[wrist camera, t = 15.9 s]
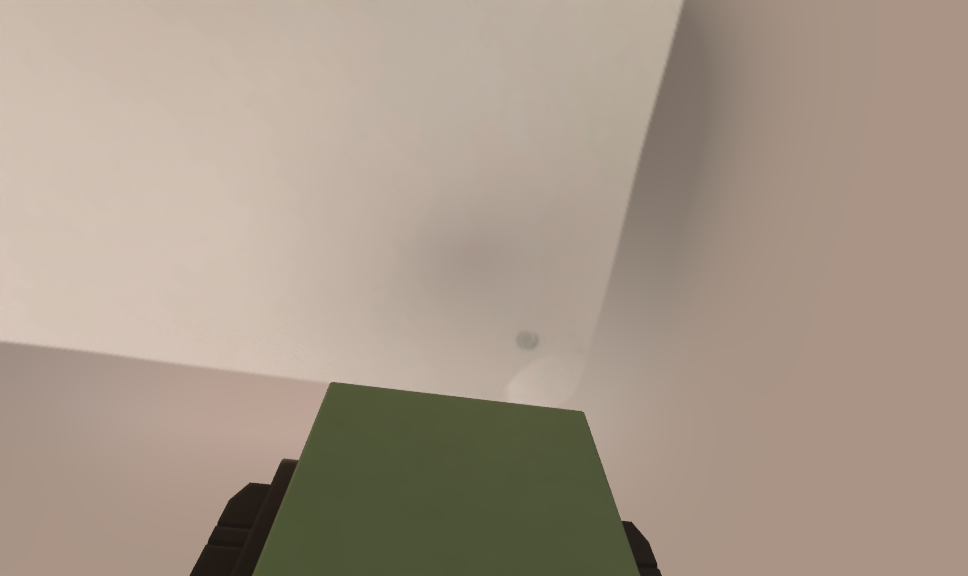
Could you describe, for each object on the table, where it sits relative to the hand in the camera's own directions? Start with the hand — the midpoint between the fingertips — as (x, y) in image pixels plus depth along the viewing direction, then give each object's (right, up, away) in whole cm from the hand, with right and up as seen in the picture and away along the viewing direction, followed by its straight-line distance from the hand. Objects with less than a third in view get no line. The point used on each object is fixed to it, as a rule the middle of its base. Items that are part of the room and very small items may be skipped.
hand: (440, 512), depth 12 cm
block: (0, 0, 0) cm, 0 cm away
